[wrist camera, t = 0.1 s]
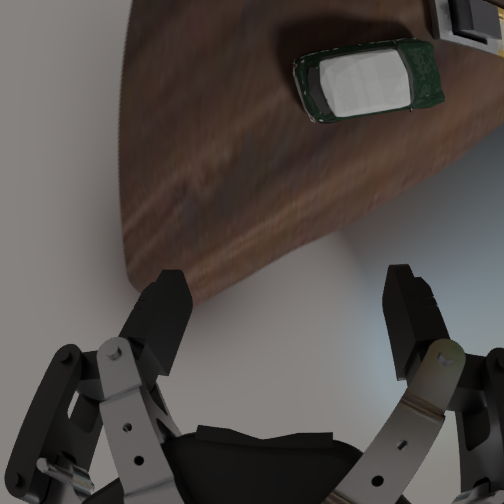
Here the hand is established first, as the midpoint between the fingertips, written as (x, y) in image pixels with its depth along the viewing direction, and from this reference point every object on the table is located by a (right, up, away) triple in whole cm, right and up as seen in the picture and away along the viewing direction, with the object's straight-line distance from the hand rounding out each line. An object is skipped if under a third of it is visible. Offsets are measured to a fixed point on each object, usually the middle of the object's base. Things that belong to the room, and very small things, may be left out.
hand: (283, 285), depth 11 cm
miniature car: (+13, +23, +18) cm, 32 cm away
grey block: (+26, +31, +9) cm, 42 cm away
